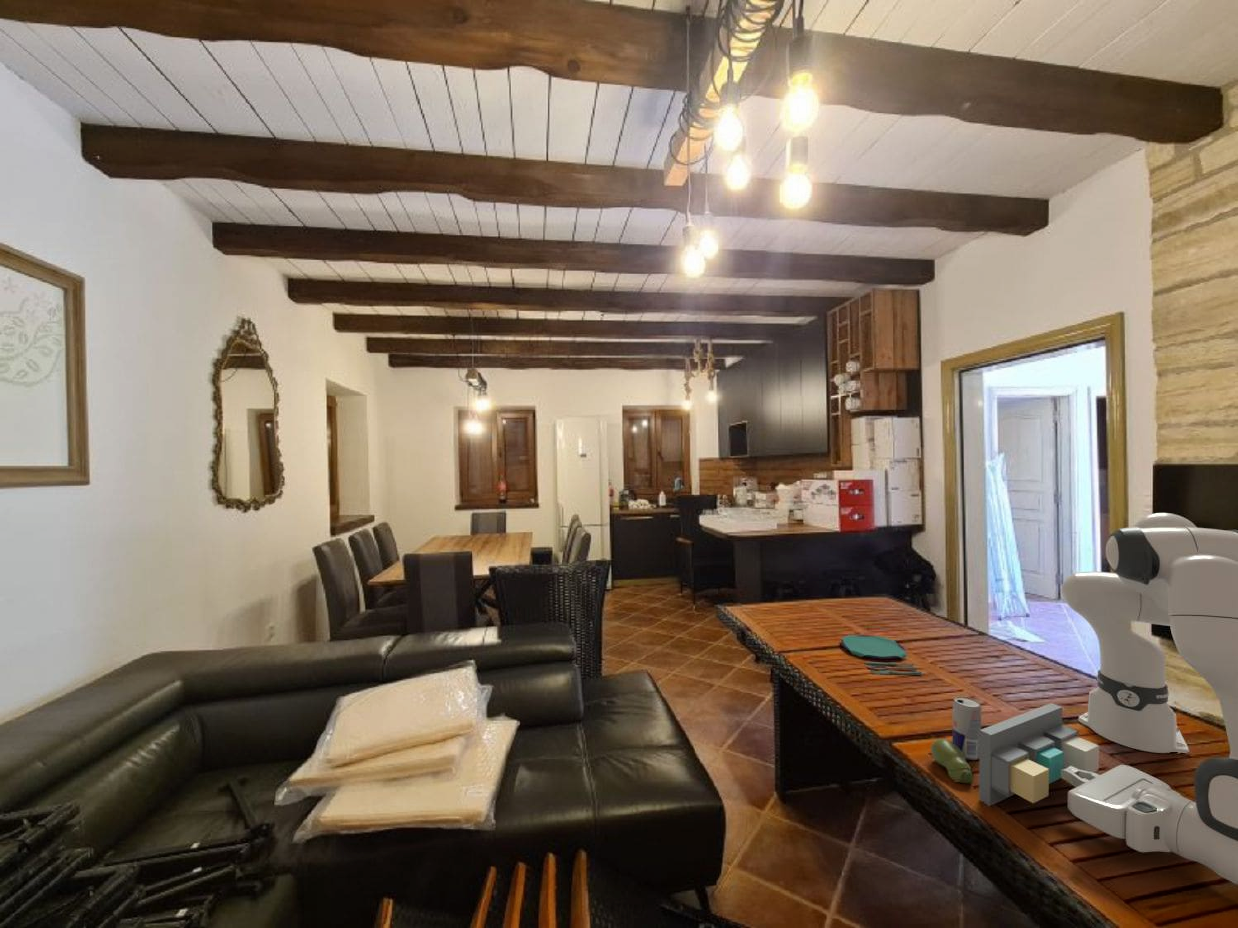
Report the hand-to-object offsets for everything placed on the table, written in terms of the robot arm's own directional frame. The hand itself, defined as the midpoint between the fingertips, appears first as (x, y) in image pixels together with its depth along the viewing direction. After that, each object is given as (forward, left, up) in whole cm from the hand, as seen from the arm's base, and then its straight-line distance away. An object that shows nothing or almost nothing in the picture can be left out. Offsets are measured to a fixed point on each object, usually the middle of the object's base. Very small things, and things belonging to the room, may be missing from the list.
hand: (1064, 771), depth 99 cm
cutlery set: (-48, -56, -8) cm, 74 cm away
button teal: (-1, -3, -3) cm, 4 cm away
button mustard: (+8, -4, -3) cm, 9 cm away
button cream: (-9, +1, -3) cm, 10 cm away
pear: (+4, -18, -7) cm, 20 cm away
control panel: (-2, -6, -7) cm, 9 cm away
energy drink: (-6, -18, -7) cm, 20 cm away
